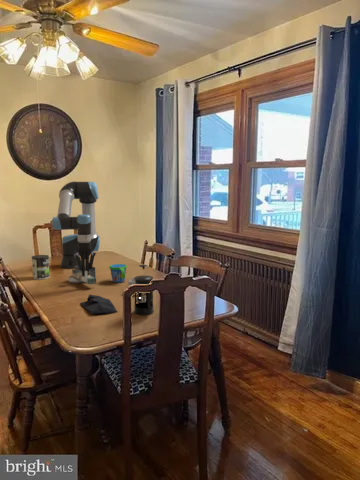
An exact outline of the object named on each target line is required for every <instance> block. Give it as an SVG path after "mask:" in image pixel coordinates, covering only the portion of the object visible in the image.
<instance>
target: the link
mask: <svg viewBox="0 0 360 480" xmlns="http://www.w3.org/2000/svg"><path fill="white" fill-rule="evenodd" d="M73 269H78V266H74V268H73ZM71 273H72V272H71ZM71 276H73V277H75V278H78V279H80V280H82V281H83V276H82V273H76V274H74V273H72V274H71ZM95 277H96V276H95ZM95 277H92V276H90V275H89V276H88V282H85V283H86V284H88V285H95V284H97V277H96V278H95Z"/></svg>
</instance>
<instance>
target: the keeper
mask: <svg viewBox="0 0 360 480" xmlns="http://www.w3.org/2000/svg"><path fill="white" fill-rule="evenodd" d="M85 270H86V269H85ZM71 273H74V274H76V273H82V271H81V270H79V269H75V268H72V270H71ZM89 275H90V276H92V277H95V278H96V279H97V277H96V267H95V266H92V269H90V270H89Z"/></svg>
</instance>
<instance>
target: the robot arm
mask: <svg viewBox="0 0 360 480" xmlns="http://www.w3.org/2000/svg"><path fill="white" fill-rule="evenodd" d="M58 197H59V201H58V209H57V215H56V216H53V217H52V221H51V225H52V229H53V230H59V231H61V230H62V231H63V230H64V231H65V230H70V231H71V230H77V233H74V234H67V235H64V236H63V237H62V240H61V244H62V257H61V262H60V268H62V269H75V268H74V266H78V269H79V270H81V271H82V276H83V281H84V282H83V283H86V282H88V276H89V270H90V269H92V267H93V265H94V260H95V256H96V254H97V253H96V252H99V249H100V241H101V236H100V235H98V232H96V211H95V203H96V202H97V201H98V199H99V191H98V185H97V182H96V181H70V182H67V183H65V184H64V185H63V186H62V187H61V188H60V190H59V192H58ZM73 200H78V201H79V203H81V212H82V213H81V214H77V216H71V213H72V206H73V205H72V204H73ZM85 269H86V270H85Z"/></svg>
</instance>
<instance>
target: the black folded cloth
mask: <svg viewBox="0 0 360 480" xmlns="http://www.w3.org/2000/svg"><path fill="white" fill-rule="evenodd" d="M86 299H87V300H86V301H81V302H80V304H81V306H82V307H83V308H84V310H85V309H86V310H87V311H88V312H89V313H90V314H92V315H97V314H98V315H99V314H105V315H106V314H115V313H118V310H117V309H116V306H114V304H113V302H112V301H111V300H110V299H109V298H106V297H103V296H99V295H94V294H88V297H87V298H86Z"/></svg>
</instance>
